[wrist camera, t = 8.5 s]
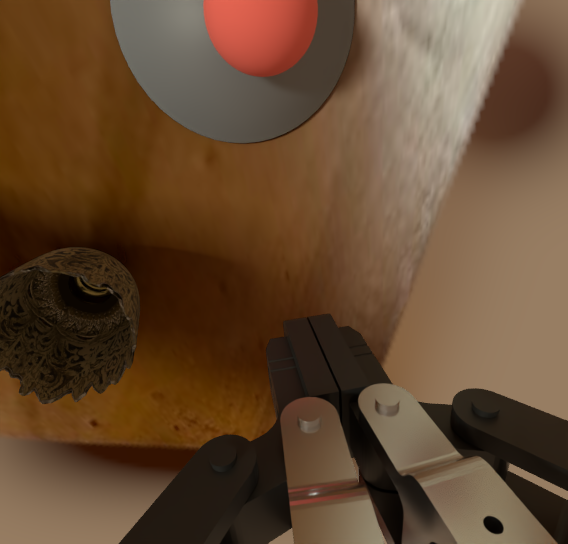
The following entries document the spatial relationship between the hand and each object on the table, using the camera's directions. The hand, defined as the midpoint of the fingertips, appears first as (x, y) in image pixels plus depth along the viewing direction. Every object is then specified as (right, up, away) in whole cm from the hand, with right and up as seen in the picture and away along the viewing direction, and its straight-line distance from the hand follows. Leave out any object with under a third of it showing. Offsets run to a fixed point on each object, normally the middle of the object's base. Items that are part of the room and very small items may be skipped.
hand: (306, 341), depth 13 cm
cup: (-13, +2, +13) cm, 19 cm away
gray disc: (-3, +16, +8) cm, 19 cm away
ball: (-2, +15, +6) cm, 16 cm away
